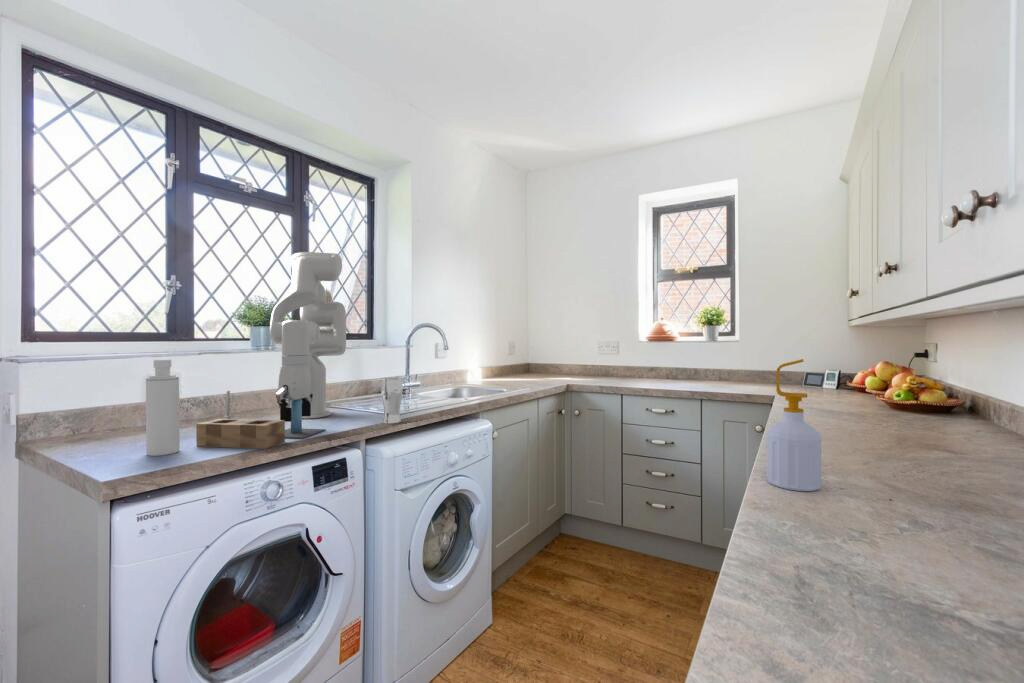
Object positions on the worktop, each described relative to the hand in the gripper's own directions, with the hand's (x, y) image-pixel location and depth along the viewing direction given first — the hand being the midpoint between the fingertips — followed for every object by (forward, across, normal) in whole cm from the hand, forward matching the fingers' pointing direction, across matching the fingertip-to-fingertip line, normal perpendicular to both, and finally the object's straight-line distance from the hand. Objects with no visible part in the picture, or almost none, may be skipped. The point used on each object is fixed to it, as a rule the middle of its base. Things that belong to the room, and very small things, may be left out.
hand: (296, 418), depth 138 cm
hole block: (+5, +14, -7) cm, 16 cm away
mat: (+5, 0, 0) cm, 5 cm away
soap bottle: (+6, +31, +125) cm, 129 cm away
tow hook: (+5, -2, -22) cm, 23 cm away
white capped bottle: (+5, +25, -20) cm, 32 cm away
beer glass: (+5, -22, +21) cm, 31 cm away
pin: (+4, 0, 0) cm, 4 cm away
